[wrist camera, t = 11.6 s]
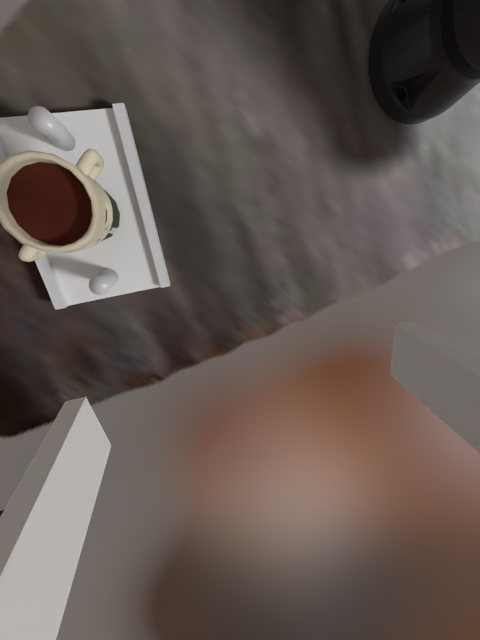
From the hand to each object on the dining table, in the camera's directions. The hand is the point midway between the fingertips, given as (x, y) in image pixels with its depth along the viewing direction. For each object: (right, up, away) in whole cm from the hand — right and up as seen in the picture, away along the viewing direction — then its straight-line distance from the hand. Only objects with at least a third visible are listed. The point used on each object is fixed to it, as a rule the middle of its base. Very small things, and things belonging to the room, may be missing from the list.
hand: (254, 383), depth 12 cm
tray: (-19, +16, +22) cm, 33 cm away
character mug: (-18, +15, +21) cm, 31 cm away
